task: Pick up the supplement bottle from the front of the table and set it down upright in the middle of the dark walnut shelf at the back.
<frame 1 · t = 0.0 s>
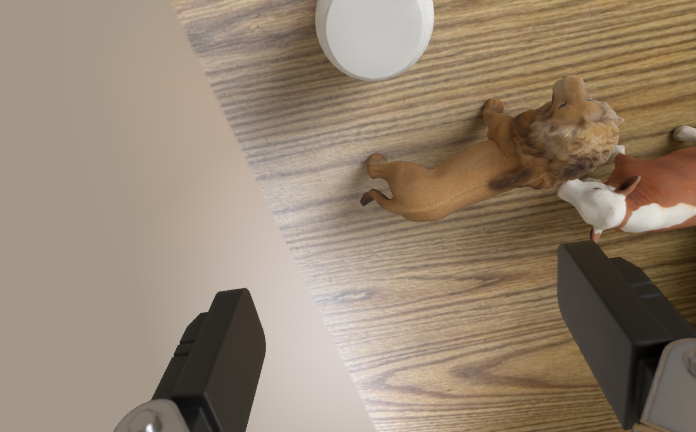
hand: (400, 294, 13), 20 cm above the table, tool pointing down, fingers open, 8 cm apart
bull figurine: (630, 156, 32), on the table
supplement bottle: (372, 7, 28), on the table
lion figurine: (459, 134, 31), on the table
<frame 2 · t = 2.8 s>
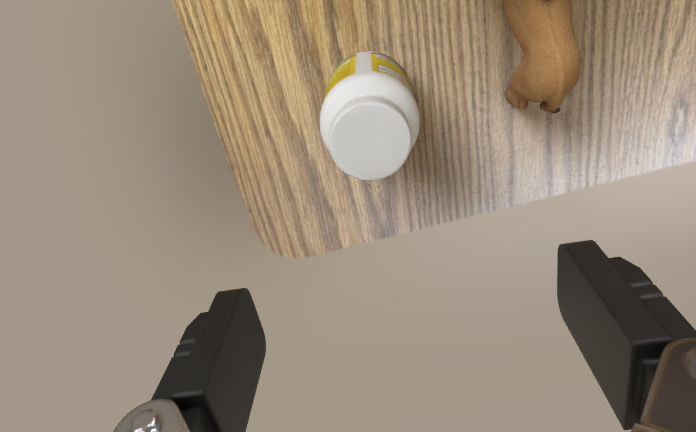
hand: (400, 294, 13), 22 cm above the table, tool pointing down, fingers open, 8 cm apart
supplement bottle: (368, 92, 32), on the table
lion figurine: (500, 1, 29), on the table
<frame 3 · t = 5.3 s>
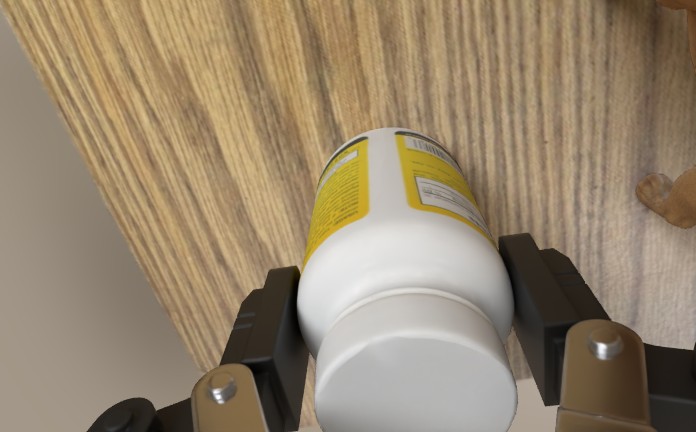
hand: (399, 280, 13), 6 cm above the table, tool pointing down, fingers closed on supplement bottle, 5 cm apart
supplement bottle: (390, 192, 18), on the table, touching gripper
lion figurine: (639, 28, 15), on the table
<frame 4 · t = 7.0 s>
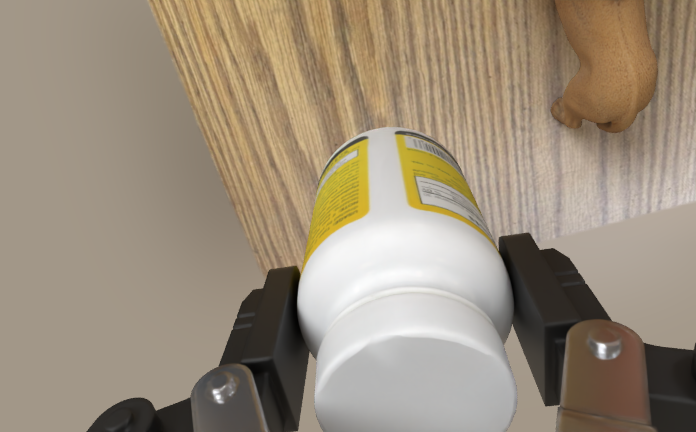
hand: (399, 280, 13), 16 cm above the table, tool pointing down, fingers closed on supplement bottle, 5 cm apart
supplement bottle: (390, 191, 18), point 10 cm above the table, touching gripper
lion figurine: (544, 0, 24), on the table
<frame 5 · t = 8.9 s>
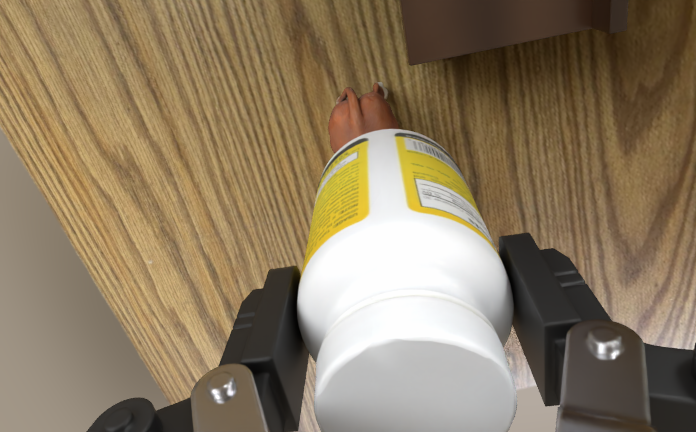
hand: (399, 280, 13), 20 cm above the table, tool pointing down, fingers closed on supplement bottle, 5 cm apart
bull figurine: (374, 165, 33), on the table
supplement bottle: (390, 193, 18), point 14 cm above the table, touching gripper
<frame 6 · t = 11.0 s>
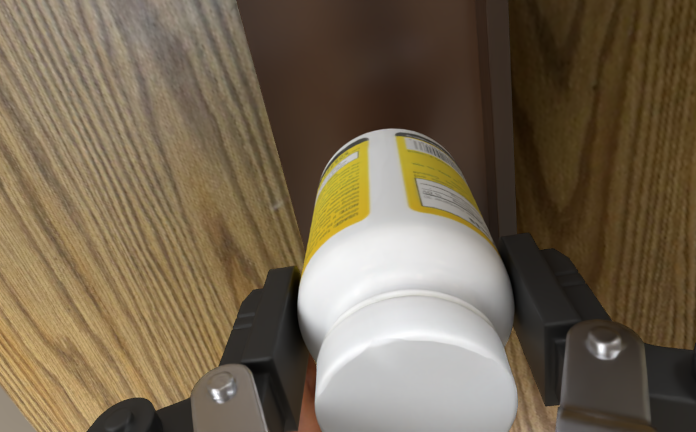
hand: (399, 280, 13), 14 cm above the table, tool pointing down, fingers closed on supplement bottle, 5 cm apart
shelf: (385, 122, 26), on the table
bull figurine: (308, 358, 34), on the table
supplement bottle: (390, 193, 18), point 9 cm above the table, touching gripper
when the fingers open (10 cm above the table, at t = 12.6 s): supplement bottle stays where it is, resting on shelf.
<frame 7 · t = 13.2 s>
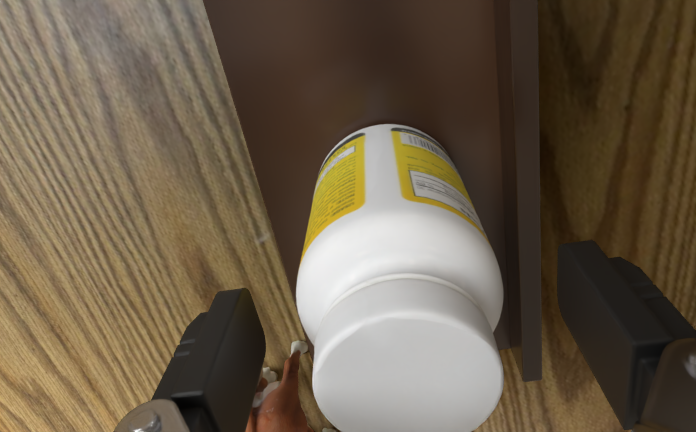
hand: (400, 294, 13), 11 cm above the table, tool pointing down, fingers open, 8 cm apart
shelf: (385, 147, 23), on the table
bull figurine: (300, 401, 31), on the table
supplement bottle: (387, 187, 19), point 4 cm above the table, touching shelf
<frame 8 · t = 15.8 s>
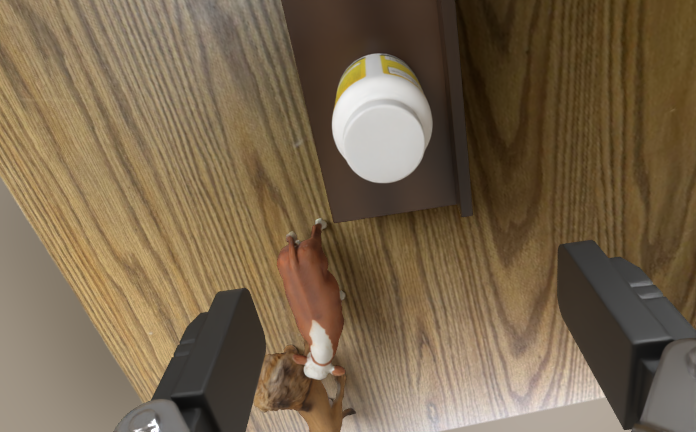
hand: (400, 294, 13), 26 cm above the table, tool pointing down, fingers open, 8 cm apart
shelf: (378, 78, 36), on the table
bull figurine: (320, 270, 44), on the table
supplement bottle: (378, 94, 32), point 4 cm above the table, touching shelf
lion figurine: (309, 361, 49), on the table
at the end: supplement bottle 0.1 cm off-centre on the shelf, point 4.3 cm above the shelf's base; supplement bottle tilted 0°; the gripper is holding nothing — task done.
